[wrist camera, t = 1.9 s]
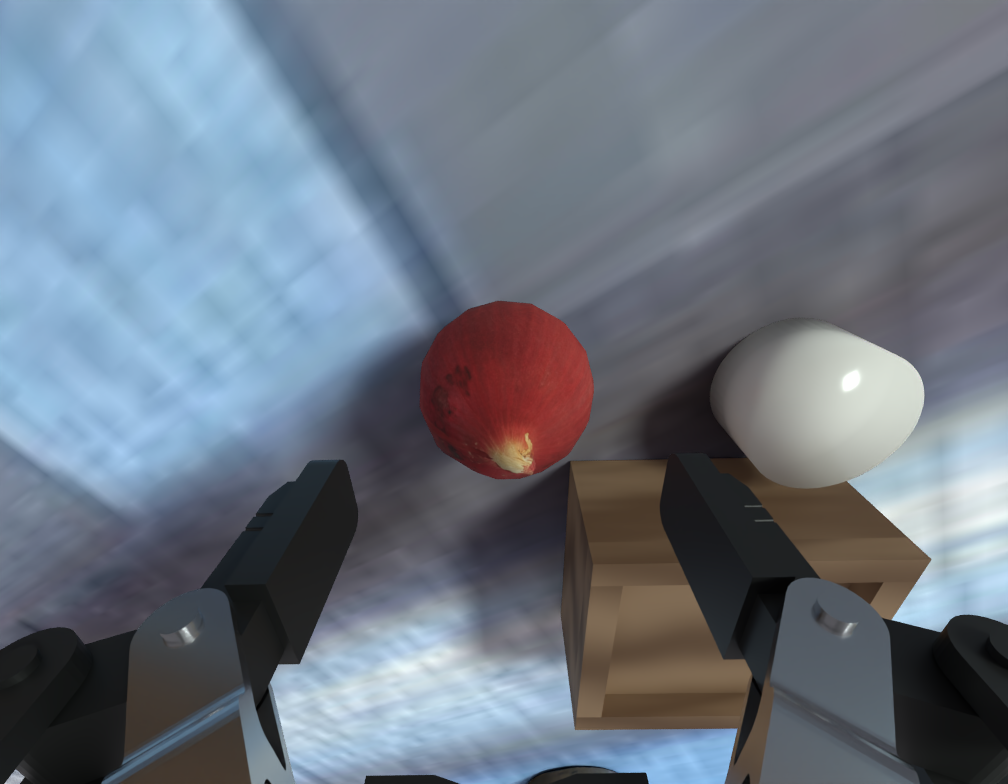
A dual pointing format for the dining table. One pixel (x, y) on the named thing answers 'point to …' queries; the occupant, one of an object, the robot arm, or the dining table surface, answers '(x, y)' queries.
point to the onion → (506, 389)
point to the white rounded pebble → (815, 402)
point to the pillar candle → (566, 774)
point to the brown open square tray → (671, 603)
